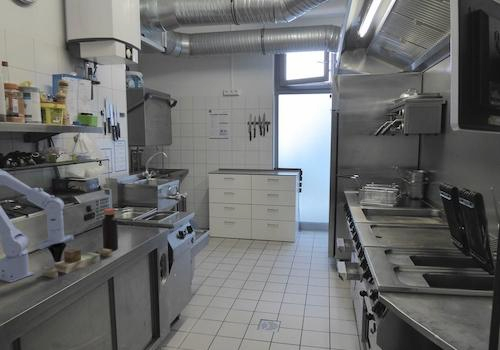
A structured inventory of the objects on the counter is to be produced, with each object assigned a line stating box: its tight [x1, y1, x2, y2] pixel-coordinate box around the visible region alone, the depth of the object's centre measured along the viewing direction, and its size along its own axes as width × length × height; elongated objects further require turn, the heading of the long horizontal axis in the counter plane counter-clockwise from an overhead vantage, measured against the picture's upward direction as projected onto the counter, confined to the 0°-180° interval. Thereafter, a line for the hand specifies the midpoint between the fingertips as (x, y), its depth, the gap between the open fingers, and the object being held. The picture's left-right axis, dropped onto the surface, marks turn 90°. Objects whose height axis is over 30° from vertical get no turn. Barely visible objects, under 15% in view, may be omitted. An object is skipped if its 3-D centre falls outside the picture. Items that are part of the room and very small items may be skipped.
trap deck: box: [42, 247, 113, 279], centre depth 153 cm, size 29×7×3 cm, turn 154°
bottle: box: [101, 208, 119, 252], centre depth 173 cm, size 7×7×20 cm
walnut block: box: [63, 247, 82, 263], centre depth 149 cm, size 4×4×4 cm
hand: (57, 261), depth 143 cm, fingers closed
